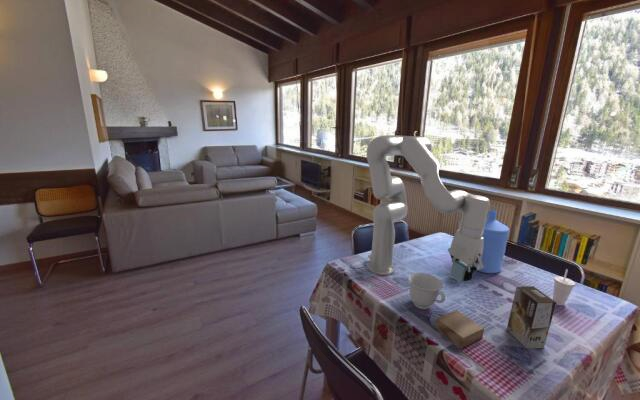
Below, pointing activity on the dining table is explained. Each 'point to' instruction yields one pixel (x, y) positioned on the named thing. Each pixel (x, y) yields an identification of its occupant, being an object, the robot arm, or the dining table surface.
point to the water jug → (493, 244)
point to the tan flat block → (459, 328)
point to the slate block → (459, 270)
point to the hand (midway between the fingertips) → (460, 275)
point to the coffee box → (531, 316)
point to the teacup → (425, 290)
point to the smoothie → (562, 289)
